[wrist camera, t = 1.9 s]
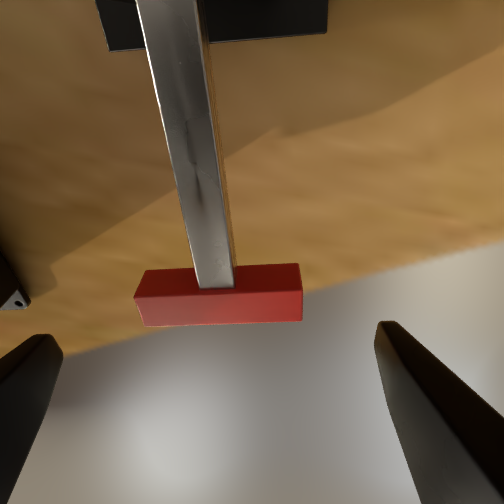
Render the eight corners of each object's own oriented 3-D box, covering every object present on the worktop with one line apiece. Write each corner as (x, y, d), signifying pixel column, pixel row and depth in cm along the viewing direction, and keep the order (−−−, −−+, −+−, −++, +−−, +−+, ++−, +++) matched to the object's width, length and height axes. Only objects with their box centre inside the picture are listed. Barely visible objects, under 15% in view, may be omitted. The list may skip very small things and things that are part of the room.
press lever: (297, 282, 12) (304, 335, 10) (158, 288, 12) (139, 341, 10) (300, -354, 5) (328, -615, 3) (-26, -301, 5) (-207, -505, 3)
